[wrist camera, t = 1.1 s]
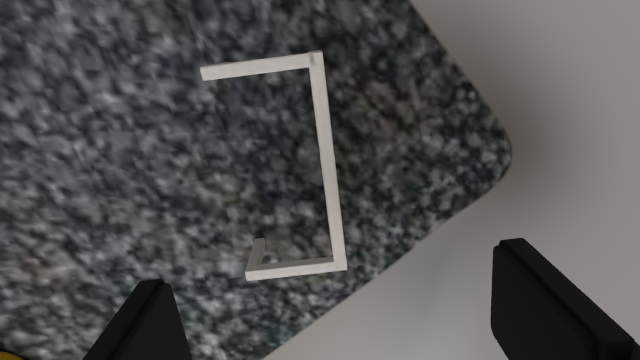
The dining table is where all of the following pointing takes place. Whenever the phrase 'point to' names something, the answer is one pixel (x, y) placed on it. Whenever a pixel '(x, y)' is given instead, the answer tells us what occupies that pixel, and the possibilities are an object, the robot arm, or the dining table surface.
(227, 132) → the dining table surface
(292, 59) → the white sunglasses
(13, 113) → the dining table surface
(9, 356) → the yellow winged triple ring
